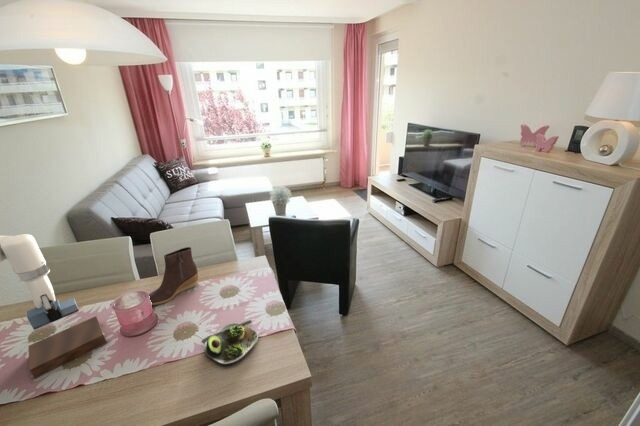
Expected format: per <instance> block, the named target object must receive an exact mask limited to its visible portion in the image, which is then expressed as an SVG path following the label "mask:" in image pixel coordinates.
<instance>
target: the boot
mask: <svg viewBox="0 0 640 426" xmlns="http://www.w3.org/2000/svg"><path fill="white" fill-rule="evenodd" d="M163 258H164V274H163V277H162V282H161V283H160V286H159V287H158V288H156V289H154V290H153V291H151V292H150V293H148V294H149V296H150V300H151V302H152V305H151V306H157V305H161V304H165V303H167V302H169V301H171V300H172V299H174V297H176V296H177V295H178V294H179V293H181V292H183V291H186V290H189V289H192V288H195V287H196V286H197V285H198V284H199V283H198V282H199V269H198V265H197V263H196V262H195V261H194V259H193V253H192V247H191V246H186V247H182V248H179V249H176V250H175V251H171V252H169V253H166V254H164V255H163Z"/></svg>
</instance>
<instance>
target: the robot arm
mask: <svg viewBox="0 0 640 426" xmlns="http://www.w3.org/2000/svg"><path fill="white" fill-rule="evenodd" d="M6 260H7V261H8V264H9V265H10V267H11V269H12V270H13V272H14V275H15V276H16V278H17V280H18V281H19V282H20V283H24V284H25V287H26V289H27V291H28V294H29V296H30V297H31V299H32V301H33V304H34V305H35V308H40V307H42V305H43V307H44V309H45V312H46V315H47V317H48V319H49V321H50V322H52V323H54V322H56V321H59V320H61V319H63V318H62V315H61V313H60V311H59V309H58V308H57V307H56V305H55V303H54V302H55V301H56V300H57V299H56V295H55V290H54V287H53V284H52V283H51V282H52V281H51V280H50V278H49V276H48V274H49V273H50V272H51V269H50V267H49V265H48V263H47V261H46V259H45V256H44V254H43V253H42V251H41V249H40V247H39V245H38V243H37V240H36V239H35V237H34V236H33V235H32V234H30V233H29V234H28V233H23V234H16V235H0V263H1V262H3V261H6ZM51 301H52V302H51ZM50 304H52V305H53V306H51V305H50Z"/></svg>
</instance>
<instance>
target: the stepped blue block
mask: <svg viewBox="0 0 640 426" xmlns="http://www.w3.org/2000/svg"><path fill="white" fill-rule="evenodd" d="M51 302H52V301H51ZM54 303H55V305H56V307H57V308H58V309H59V311H60V313H61V315H62V318H61V319H63V318H65V317H69V316H71V315H73V314H76V313H78V312H79V311H80V310H79V306H78V304H77V302H76V299H75V297H71V298H70V299H66V300H64V301H61V302H60V301H59V299H56V301H55V302H54ZM50 305H51V306H53V305H52V304H50ZM26 317H27V318H26V319H27V320H28V322H29V325H30V326H31V327H32V330H33V331H36V330H37V329H40V328H42V327H44V326H47V325H49V324H51V323H53V322H50V321H49V319H48V317H47V315H46V312H45V309H44V307H43V305H42V307H40V308H36V307H33V308H30V309H29V310H26Z"/></svg>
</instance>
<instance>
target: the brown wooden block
mask: <svg viewBox="0 0 640 426" xmlns="http://www.w3.org/2000/svg"><path fill="white" fill-rule="evenodd" d="M107 343H108V341H107V339H106V336H105V335H104V332H103V329H102V327H101V322H100V321H99V318H98V317H97V315H95V316H93V317H91V318H88V319H86V320H83V321H82V322H79V323H76V324H74V325H72V326H70V327H68V328H66V329H63V330H61V331H59V332H57V333H54V334H52V335H50V336H47V337H45V338H43V339H40V340H38V341H36V342H34V343H32V344H29V345H28V363H29V364H28V365H29V366H28V367H29V371H30V373H31V375H32V376H33V378H34V379H37V378H40V377H41V376H43V375H45V374H47V373H49V372H52V371H53V370H55V369H58V368H59V367H62V366H63V365H65V364H67V363H69V362H71V361H74V360H76V359H78V358H80V357H81V356H83V355H86V354H87V353H89V352H91V351H94V350H96V349H97V348H99V347H101V346H103V345H105V344H107Z"/></svg>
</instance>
